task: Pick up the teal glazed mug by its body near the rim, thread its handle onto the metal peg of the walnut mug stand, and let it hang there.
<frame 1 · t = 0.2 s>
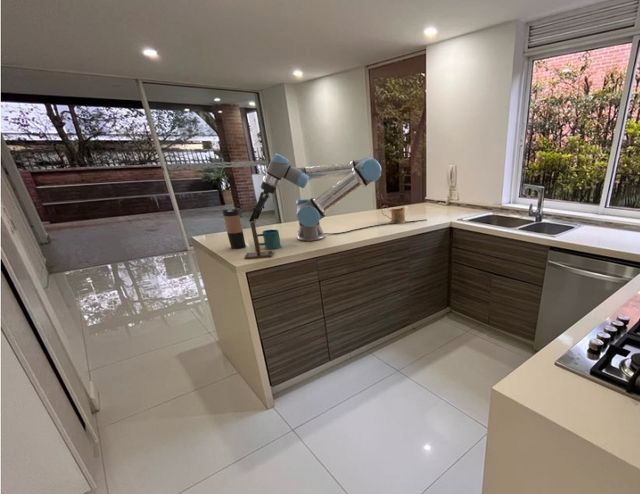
hand: (253, 220, 180), 15 cm above the counter, tool tilted 30°, fingers open, 13 cm apart
teal mug: (273, 247, 187), on the counter
mug stand: (259, 255, 172), on the counter
mug: (394, 222, 248), on the counter
travel mug: (238, 247, 187), on the counter
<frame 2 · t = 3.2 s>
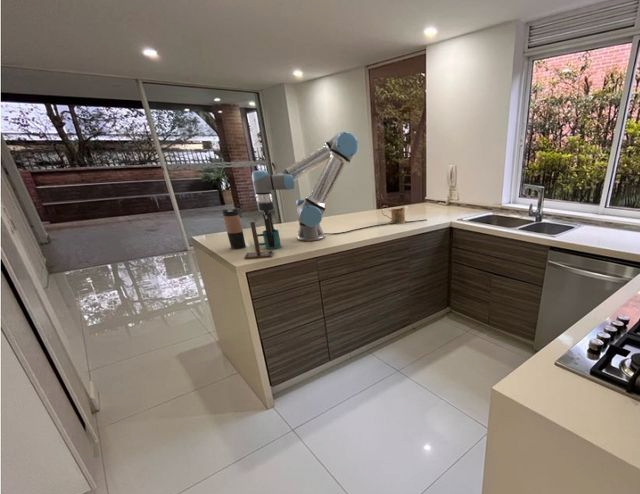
hand: (272, 244, 186), 2 cm above the counter, tool pointing down, fingers closed on teal mug, 8 cm apart
teal mug: (273, 247, 187), on the counter, touching gripper
everything else where it was.
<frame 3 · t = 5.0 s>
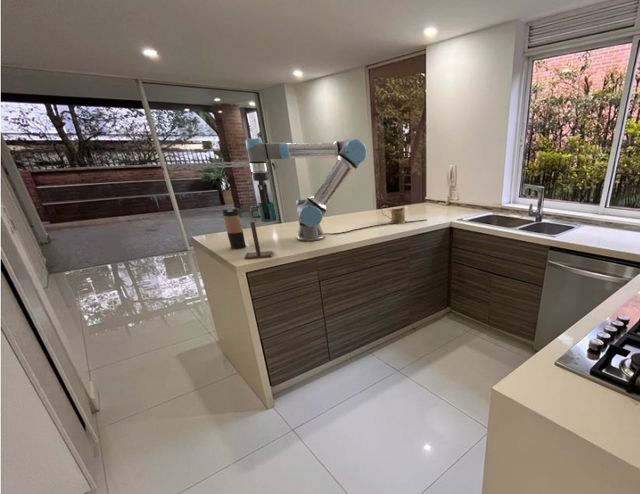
hand: (268, 217, 180), 16 cm above the counter, tool pointing down, fingers closed on teal mug, 8 cm apart
teal mug: (269, 220, 181), point 15 cm above the counter, touching gripper
everything else where it was.
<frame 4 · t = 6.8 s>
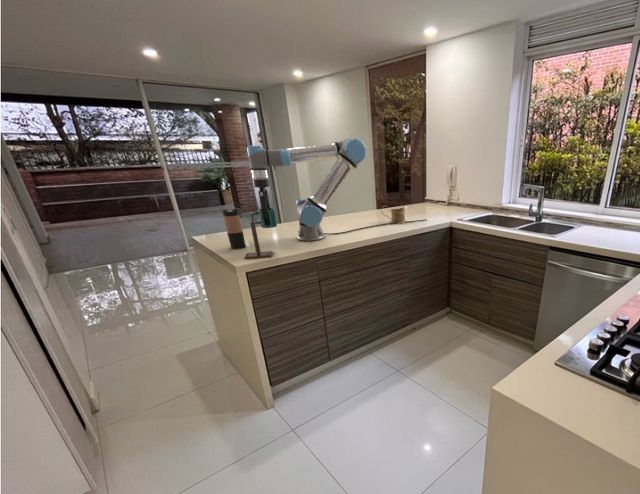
hand: (268, 223, 181), 13 cm above the counter, tool pointing down, fingers closed on teal mug, 8 cm apart
teal mug: (269, 226, 182), point 12 cm above the counter, touching gripper
everything else where it was.
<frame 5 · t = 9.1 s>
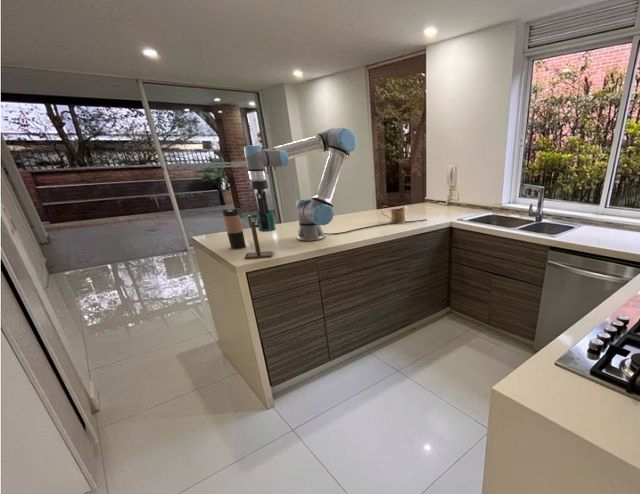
hand: (267, 227, 173), 13 cm above the counter, tool pointing down, fingers closed on teal mug, 8 cm apart
teal mug: (267, 230, 174), point 12 cm above the counter, touching gripper
everything else where it was.
when the fingers open (11 cm above the counter, at t = 10.4 s): teal mug drops 1 cm and tips over, resting on mug stand.
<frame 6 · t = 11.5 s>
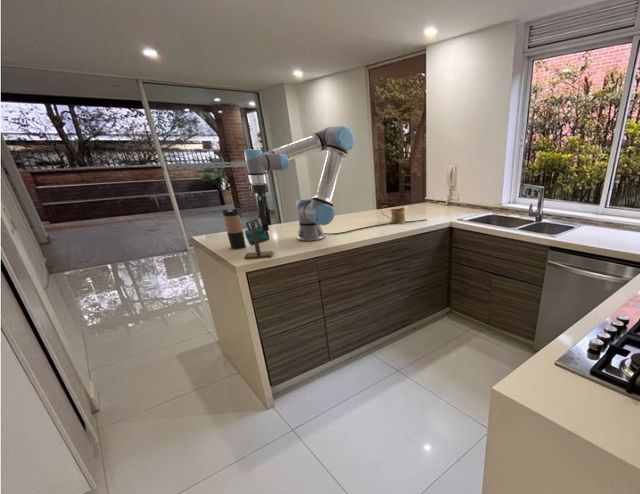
hand: (267, 227, 172), 13 cm above the counter, tool pointing down, fingers open, 13 cm apart
teal mug: (248, 238, 171), point 8 cm above the counter, tilted 76°, touching mug stand
everything else where it was.
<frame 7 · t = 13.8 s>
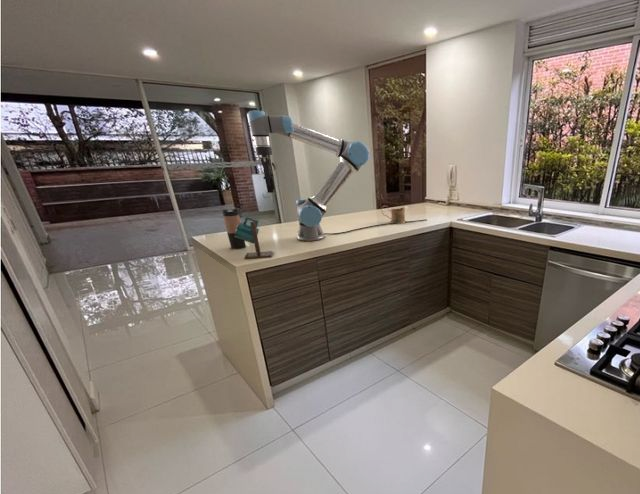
hand: (271, 191, 176), 30 cm above the counter, tool pointing down, fingers open, 13 cm apart
teal mug: (237, 229, 168), point 13 cm above the counter, tilted 117°, touching mug stand
everything else where it was.
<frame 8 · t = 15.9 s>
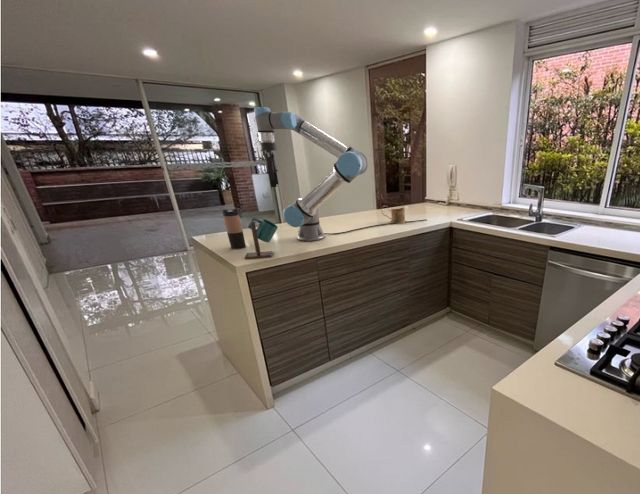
hand: (274, 185, 181), 32 cm above the counter, tool pointing down, fingers open, 13 cm apart
teal mug: (261, 238, 173), point 8 cm above the counter, tilted 35°, touching mug stand
everything else where it was.
at the end: teal mug inside the target area (8.0 cm from its centre), point 8.6 cm above the counter; teal mug touching mug stand; the gripper is holding nothing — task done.
